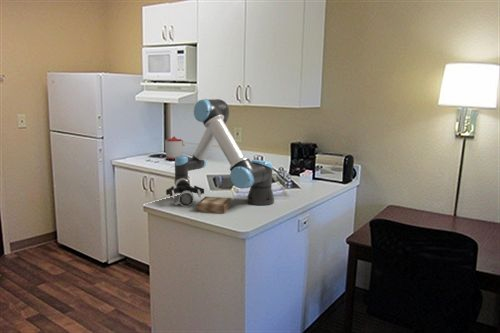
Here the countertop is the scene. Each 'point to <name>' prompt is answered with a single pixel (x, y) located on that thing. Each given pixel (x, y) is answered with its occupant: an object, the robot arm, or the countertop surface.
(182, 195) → the ceramic mug
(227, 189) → the countertop surface
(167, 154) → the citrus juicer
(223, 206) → the block
